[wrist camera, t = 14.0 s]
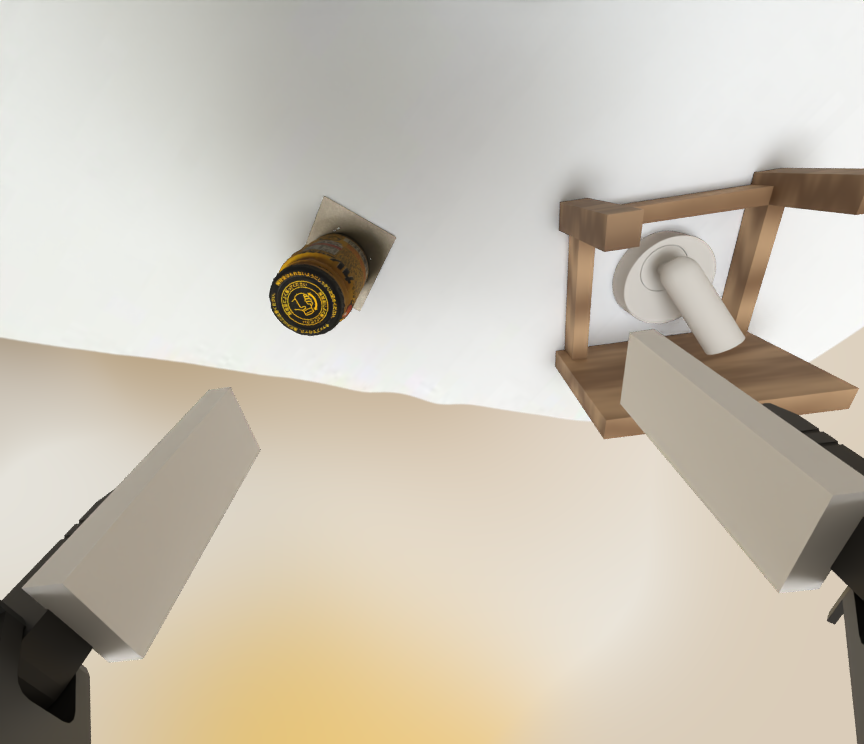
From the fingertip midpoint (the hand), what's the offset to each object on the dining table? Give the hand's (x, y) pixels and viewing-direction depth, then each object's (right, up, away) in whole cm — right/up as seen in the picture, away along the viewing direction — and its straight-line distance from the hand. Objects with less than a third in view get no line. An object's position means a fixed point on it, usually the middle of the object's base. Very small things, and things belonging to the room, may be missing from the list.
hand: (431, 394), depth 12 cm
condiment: (-9, +12, +24) cm, 28 cm away
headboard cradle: (+23, +10, +26) cm, 36 cm away
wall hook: (+23, +10, +26) cm, 36 cm away
